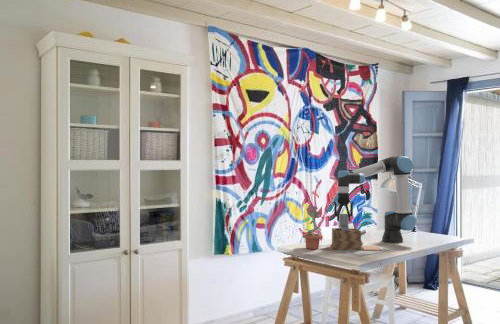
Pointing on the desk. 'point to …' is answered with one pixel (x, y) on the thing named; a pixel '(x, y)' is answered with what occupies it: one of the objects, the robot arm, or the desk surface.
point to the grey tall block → (343, 222)
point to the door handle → (362, 234)
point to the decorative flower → (312, 238)
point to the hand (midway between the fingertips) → (343, 225)
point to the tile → (371, 248)
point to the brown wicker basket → (346, 239)
